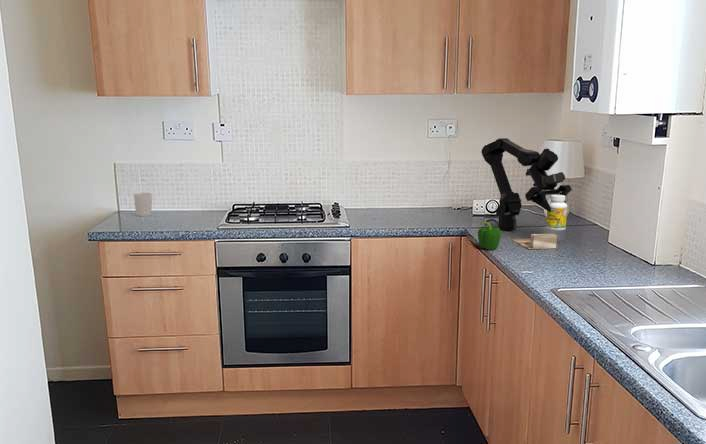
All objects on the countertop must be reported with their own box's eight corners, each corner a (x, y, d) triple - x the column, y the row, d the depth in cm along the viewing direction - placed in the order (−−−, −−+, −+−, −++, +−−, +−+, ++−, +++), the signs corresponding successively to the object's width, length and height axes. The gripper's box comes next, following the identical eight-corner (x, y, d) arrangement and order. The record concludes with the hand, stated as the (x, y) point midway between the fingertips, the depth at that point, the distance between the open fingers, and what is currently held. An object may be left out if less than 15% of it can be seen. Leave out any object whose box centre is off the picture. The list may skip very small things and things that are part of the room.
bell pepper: (505, 249, 228) (506, 222, 226) (491, 252, 222) (493, 225, 220) (486, 244, 234) (487, 219, 232) (473, 248, 228) (474, 222, 226)
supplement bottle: (568, 228, 235) (571, 195, 232) (561, 231, 229) (564, 197, 227) (549, 225, 239) (552, 193, 237) (542, 228, 234) (545, 195, 231)
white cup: (131, 216, 285) (130, 194, 283) (141, 213, 292) (140, 192, 290) (146, 217, 282) (144, 195, 280) (156, 214, 290) (154, 193, 288)
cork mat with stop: (511, 240, 242) (512, 226, 241) (540, 239, 243) (541, 226, 242) (529, 250, 226) (530, 235, 225) (559, 249, 228) (560, 235, 227)
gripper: (532, 166, 230) (550, 199, 222) (570, 164, 237) (589, 196, 230) (517, 183, 238) (534, 216, 231) (554, 181, 246) (572, 213, 238)
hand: (558, 210), depth 232 cm, fingers closed on supplement bottle, 7 cm apart
